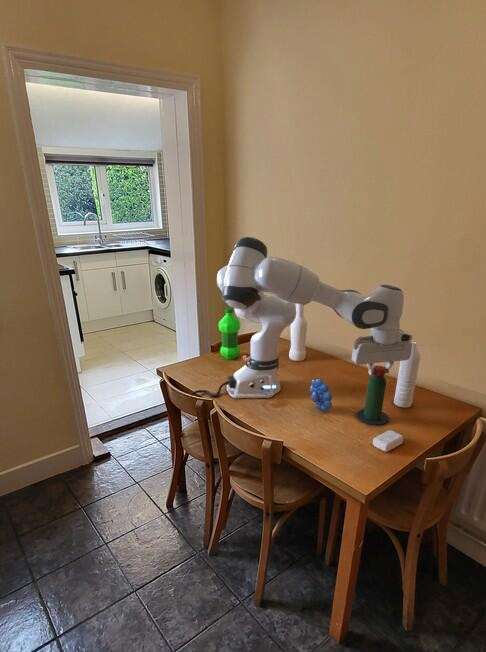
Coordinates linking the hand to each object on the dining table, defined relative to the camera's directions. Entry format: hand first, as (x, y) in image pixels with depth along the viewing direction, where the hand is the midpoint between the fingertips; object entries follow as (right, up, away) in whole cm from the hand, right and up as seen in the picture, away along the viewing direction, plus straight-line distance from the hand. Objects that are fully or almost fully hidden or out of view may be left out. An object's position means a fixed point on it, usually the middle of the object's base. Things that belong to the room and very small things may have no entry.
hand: (378, 373), depth 141 cm
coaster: (0, -16, +7) cm, 18 cm away
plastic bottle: (-53, +9, +63) cm, 83 cm away
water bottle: (+14, -11, +18) cm, 25 cm away
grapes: (-19, -14, +13) cm, 26 cm away
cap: (0, +2, -1) cm, 2 cm away
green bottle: (0, -15, +7) cm, 17 cm away
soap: (0, -23, -8) cm, 25 cm away
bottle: (-20, +9, +61) cm, 65 cm away
